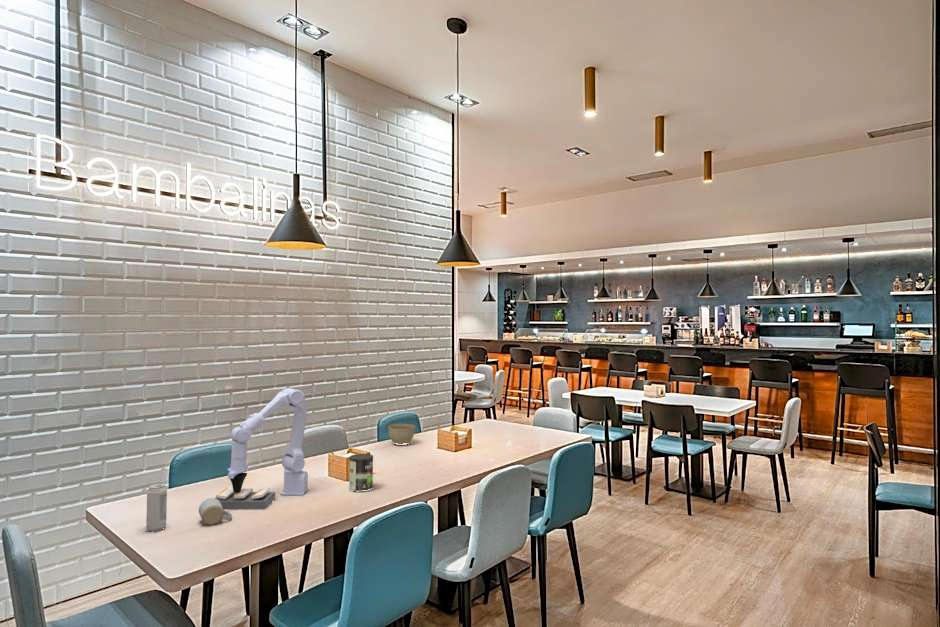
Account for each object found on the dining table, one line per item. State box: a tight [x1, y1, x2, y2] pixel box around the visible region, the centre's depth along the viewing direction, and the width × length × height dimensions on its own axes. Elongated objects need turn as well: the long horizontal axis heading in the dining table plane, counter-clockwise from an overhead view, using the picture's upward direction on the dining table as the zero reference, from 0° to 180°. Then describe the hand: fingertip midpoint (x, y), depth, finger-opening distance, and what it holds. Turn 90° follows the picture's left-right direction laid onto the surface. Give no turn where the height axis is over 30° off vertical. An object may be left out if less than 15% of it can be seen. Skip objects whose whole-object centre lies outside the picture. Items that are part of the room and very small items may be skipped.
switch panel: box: [214, 491, 276, 510], centre depth 216 cm, size 21×12×3 cm, turn 91°
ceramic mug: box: [198, 497, 233, 526], centre depth 198 cm, size 11×8×8 cm
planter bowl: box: [387, 423, 416, 444], centre depth 325 cm, size 16×16×11 cm
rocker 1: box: [215, 487, 234, 499], centre depth 216 cm, size 4×9×1 cm, turn 1°
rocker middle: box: [234, 488, 254, 499], centre depth 217 cm, size 4×9×1 cm, turn 2°
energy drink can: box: [145, 483, 168, 532], centre depth 190 cm, size 6×6×15 cm
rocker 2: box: [252, 487, 271, 499], centre depth 217 cm, size 4×9×1 cm, turn 2°
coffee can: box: [348, 453, 374, 491], centre depth 238 cm, size 10×10×14 cm
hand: (236, 492), depth 216 cm, fingers closed, pressing on rocker middle
